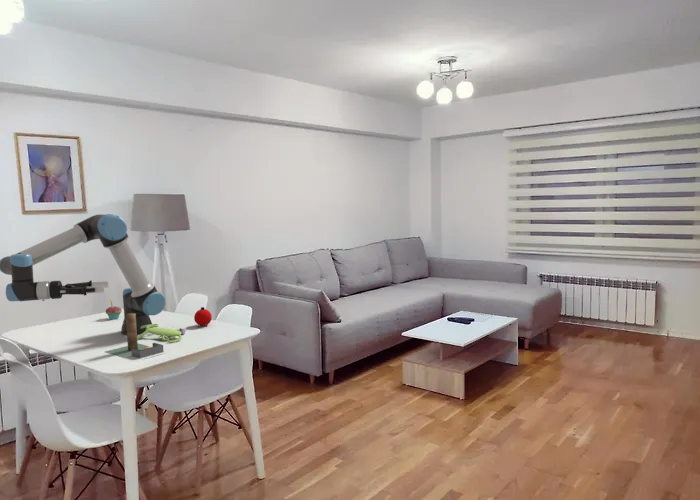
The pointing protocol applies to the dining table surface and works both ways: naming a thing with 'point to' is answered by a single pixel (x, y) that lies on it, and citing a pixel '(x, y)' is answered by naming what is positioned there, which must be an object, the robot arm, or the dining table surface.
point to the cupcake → (113, 312)
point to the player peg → (131, 331)
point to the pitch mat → (125, 351)
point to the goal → (147, 351)
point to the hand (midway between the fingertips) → (106, 286)
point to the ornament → (202, 317)
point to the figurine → (163, 332)
